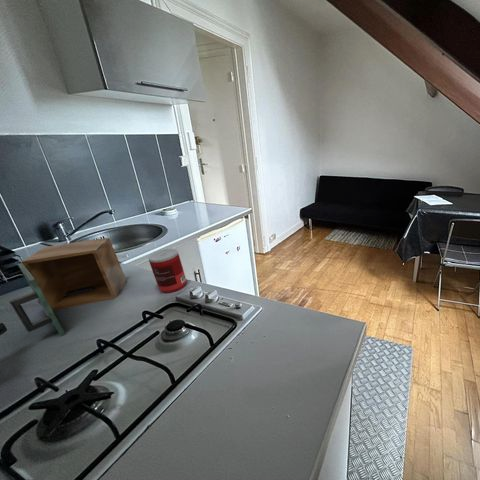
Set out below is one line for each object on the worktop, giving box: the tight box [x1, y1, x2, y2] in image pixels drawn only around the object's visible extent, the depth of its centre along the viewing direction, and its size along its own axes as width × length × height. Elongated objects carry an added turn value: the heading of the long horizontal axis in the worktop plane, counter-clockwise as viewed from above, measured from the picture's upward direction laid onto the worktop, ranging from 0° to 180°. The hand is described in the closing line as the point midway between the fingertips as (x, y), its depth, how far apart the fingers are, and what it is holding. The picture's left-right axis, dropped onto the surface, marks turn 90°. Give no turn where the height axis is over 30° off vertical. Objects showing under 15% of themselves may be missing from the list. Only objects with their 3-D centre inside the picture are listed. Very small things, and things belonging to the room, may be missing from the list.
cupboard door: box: [8, 262, 66, 337], centre depth 62 cm, size 5×16×15 cm, turn 54°
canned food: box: [148, 248, 187, 294], centre depth 78 cm, size 8×8×11 cm
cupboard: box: [21, 237, 128, 312], centre depth 75 cm, size 10×16×16 cm, turn 109°
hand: (1, 326), depth 55 cm, fingers closed
